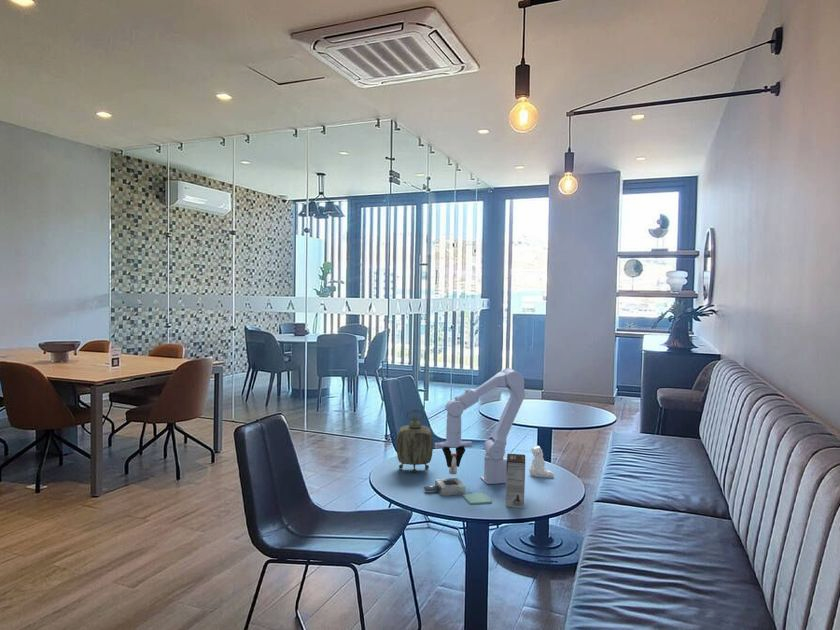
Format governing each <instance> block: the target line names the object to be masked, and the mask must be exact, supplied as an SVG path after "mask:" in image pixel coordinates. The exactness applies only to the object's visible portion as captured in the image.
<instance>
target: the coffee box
mask: <svg viewBox="0 0 840 630" xmlns="http://www.w3.org/2000/svg"><path fill="white" fill-rule="evenodd" d="M506 458H507V468H506V483H505V508H517V509H524V504H525V484H526V481H525V480H526V454H520V453H519V454H518V453H507V455H506Z"/></svg>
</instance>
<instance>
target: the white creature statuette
mask: <svg viewBox="0 0 840 630" xmlns="http://www.w3.org/2000/svg"><path fill="white" fill-rule="evenodd" d="M530 451H531V453H532V455H533V456H534V457H533V459H532V460H531V461H532V463H531V464H530V466H529V469H528V470H529V473H530V475H531V476H532V477H534V478H550V479H553V478H554V477H555V473H554V472H552V471H551V470H547V469H546V465H545V464H546V462H545V459H544V453H543V449H542V448H541V446H540V445H535V446H534V447H532V446H531V447H530Z"/></svg>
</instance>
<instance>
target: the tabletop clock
mask: <svg viewBox="0 0 840 630" xmlns="http://www.w3.org/2000/svg"><path fill="white" fill-rule="evenodd" d="M413 412H418V413H421V414H422V417H419V418H417V416H414V417H410V416H409V415H410V413H413ZM406 417H407V418H408V419H409V420H410V423H408V425H402V426H400V427H399V429H398V432H397V437H396V438H397V439H396V455H397V460H398V462H399V463H401V464H400V465H399V466H398V468H399V469H403V467H404V466H403V465H411V466H413V469H412V473H413V474H416V473H417V469H416V466H418V465H421V466H422V465H424V469H426V470H428V469H429V468H430V465H428V464H430V462H431V460H432V459H433V458H432V456H433V452H434V451H433V450H434V445H433V443H434V442H433V434H432V430H431V427H429V426H426V425H422V424H421V422H420V420H422V419H423V418H424V417H425V414H424V412H423V411H422V410H419V409H411V410H409V411H408V412H407V413H406Z"/></svg>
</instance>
